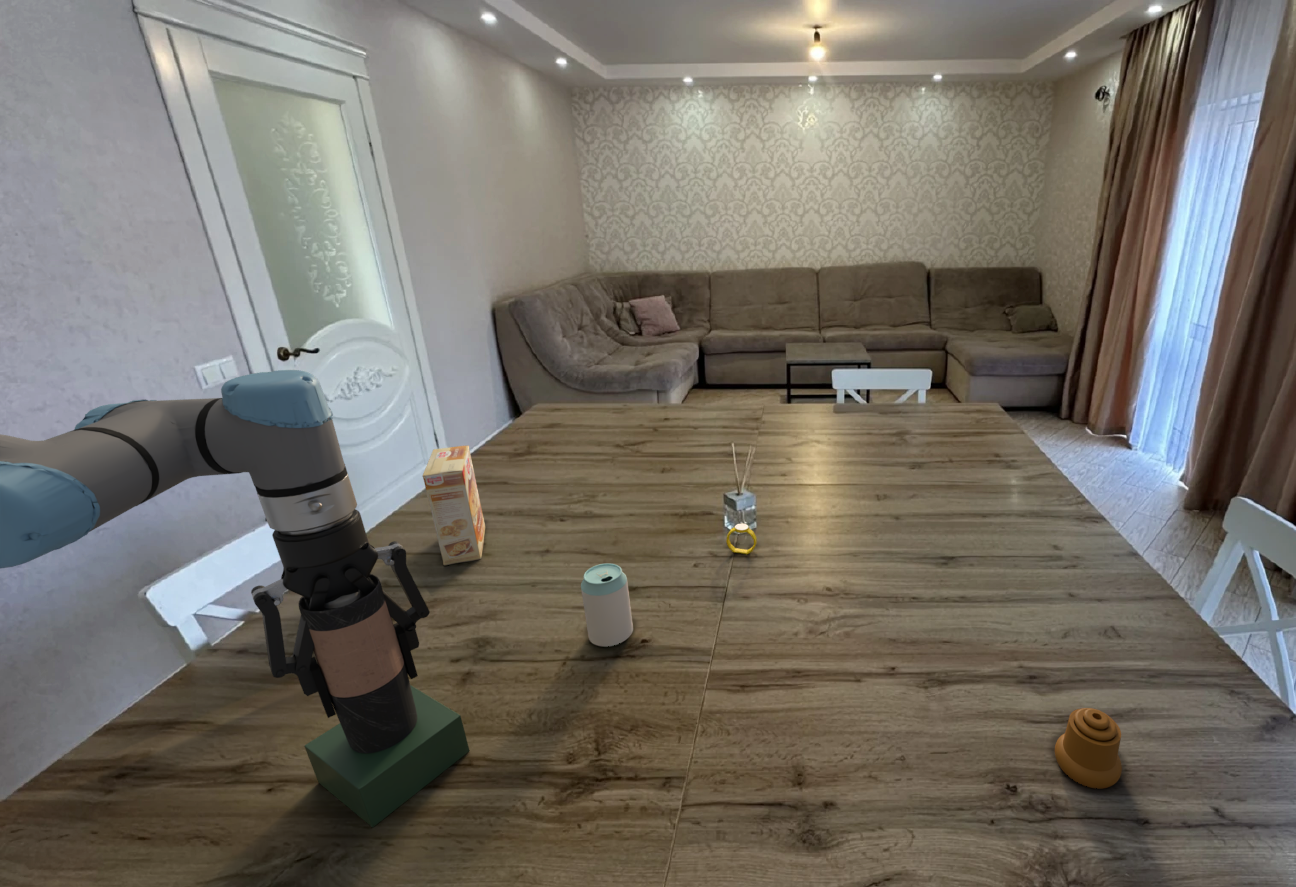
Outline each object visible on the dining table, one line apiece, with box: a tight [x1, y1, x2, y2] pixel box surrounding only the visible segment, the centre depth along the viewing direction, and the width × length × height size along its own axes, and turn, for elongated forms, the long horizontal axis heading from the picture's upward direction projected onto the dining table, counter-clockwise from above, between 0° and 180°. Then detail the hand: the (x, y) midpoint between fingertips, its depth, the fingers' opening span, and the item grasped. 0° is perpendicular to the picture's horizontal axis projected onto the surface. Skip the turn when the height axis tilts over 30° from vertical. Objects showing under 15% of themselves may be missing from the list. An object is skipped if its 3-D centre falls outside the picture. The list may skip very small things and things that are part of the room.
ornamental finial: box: [1054, 707, 1123, 790], centre depth 74 cm, size 8×8×8 cm
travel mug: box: [298, 573, 417, 754], centre depth 70 cm, size 8×8×20 cm
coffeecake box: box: [421, 445, 486, 566], centre depth 123 cm, size 15×7×20 cm, turn 22°
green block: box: [303, 684, 470, 828], centre depth 75 cm, size 12×12×6 cm
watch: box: [725, 523, 758, 555], centre depth 122 cm, size 6×3×6 cm, turn 82°
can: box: [580, 562, 634, 648], centre depth 97 cm, size 7×7×12 cm
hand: (371, 690), depth 72 cm, fingers closed on travel mug, 8 cm apart
